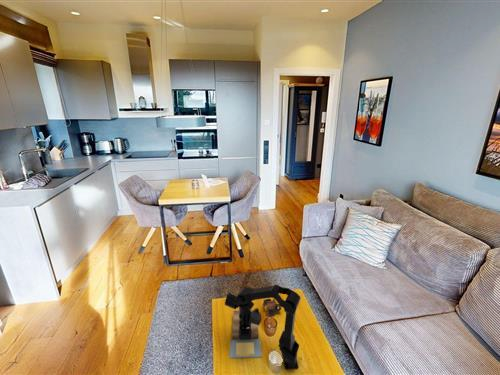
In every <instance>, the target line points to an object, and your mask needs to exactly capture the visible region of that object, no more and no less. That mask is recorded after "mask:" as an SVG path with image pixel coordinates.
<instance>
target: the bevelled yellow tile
mask: <svg viewBox="0 0 500 375" xmlns="http://www.w3.org/2000/svg"><path fill="white" fill-rule="evenodd" d="M247 356H254V342H248V343H236V357H247Z"/></svg>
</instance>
